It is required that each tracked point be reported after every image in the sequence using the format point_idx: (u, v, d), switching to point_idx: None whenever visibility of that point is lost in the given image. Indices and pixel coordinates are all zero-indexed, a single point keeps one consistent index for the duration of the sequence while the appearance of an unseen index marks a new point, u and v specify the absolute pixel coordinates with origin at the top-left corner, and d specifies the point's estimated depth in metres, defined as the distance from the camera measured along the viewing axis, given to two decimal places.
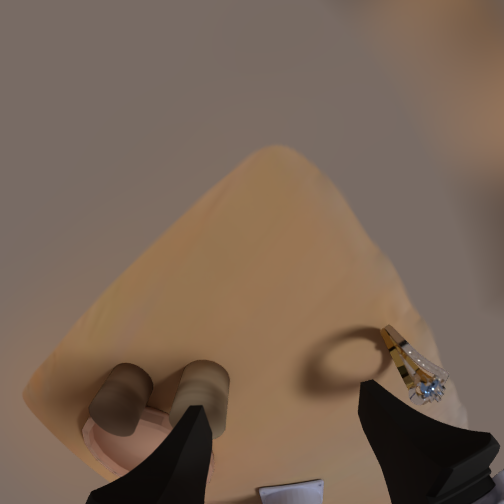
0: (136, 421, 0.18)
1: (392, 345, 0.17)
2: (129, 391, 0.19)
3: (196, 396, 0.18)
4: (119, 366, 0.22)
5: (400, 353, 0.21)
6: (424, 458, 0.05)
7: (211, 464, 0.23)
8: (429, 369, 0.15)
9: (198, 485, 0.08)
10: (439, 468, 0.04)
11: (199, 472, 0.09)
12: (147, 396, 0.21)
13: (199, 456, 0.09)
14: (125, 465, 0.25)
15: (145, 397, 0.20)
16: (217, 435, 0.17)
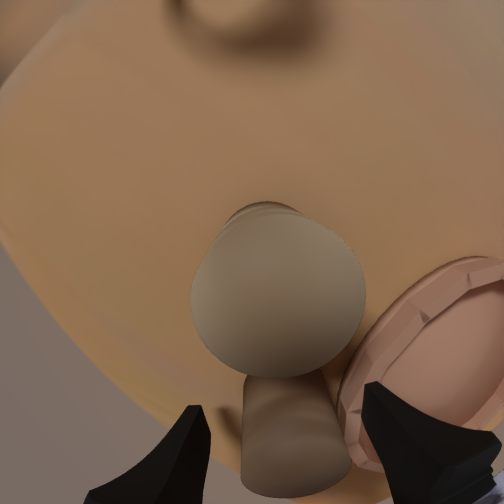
0: (305, 434, 0.08)
1: None
2: (253, 416, 0.10)
3: None
4: None
5: None
6: (427, 457, 0.05)
7: (491, 265, 0.10)
8: None
9: (196, 485, 0.08)
10: (442, 467, 0.04)
11: (197, 472, 0.09)
12: (294, 378, 0.11)
13: (197, 456, 0.09)
14: (473, 409, 0.13)
15: (288, 386, 0.11)
16: (341, 246, 0.06)
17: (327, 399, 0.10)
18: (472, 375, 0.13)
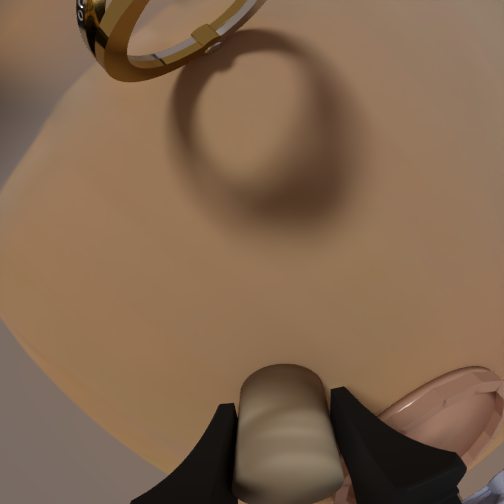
0: None
1: (98, 60, 0.05)
2: None
3: None
4: None
5: (230, 17, 0.08)
6: (381, 474, 0.05)
7: (467, 386, 0.11)
8: None
9: None
10: (393, 487, 0.05)
11: None
12: None
13: (233, 455, 0.09)
14: None
15: None
16: (317, 466, 0.07)
17: None
18: (445, 446, 0.14)
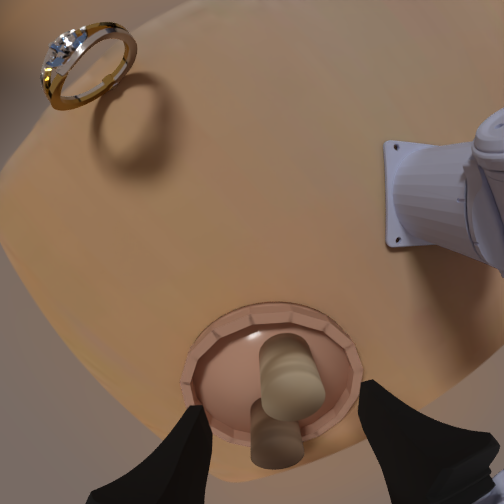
0: (270, 437, 0.17)
1: (51, 104, 0.14)
2: (252, 432, 0.19)
3: None
4: None
5: (119, 69, 0.16)
6: (424, 458, 0.05)
7: (276, 311, 0.20)
8: None
9: (198, 485, 0.08)
10: (439, 468, 0.04)
11: (199, 472, 0.09)
12: None
13: (199, 456, 0.09)
14: (311, 416, 0.23)
15: (265, 414, 0.20)
16: (302, 378, 0.16)
17: None
18: None
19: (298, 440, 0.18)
